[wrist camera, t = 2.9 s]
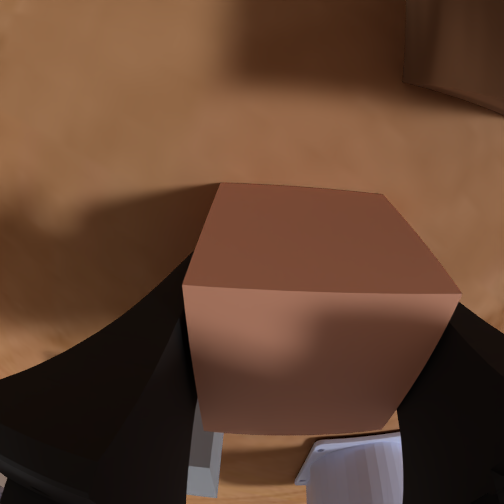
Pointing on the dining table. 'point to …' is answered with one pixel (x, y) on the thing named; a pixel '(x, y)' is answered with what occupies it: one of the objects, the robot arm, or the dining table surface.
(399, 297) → the terracotta block
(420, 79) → the walnut block
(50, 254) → the dining table surface
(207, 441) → the slate grey block
